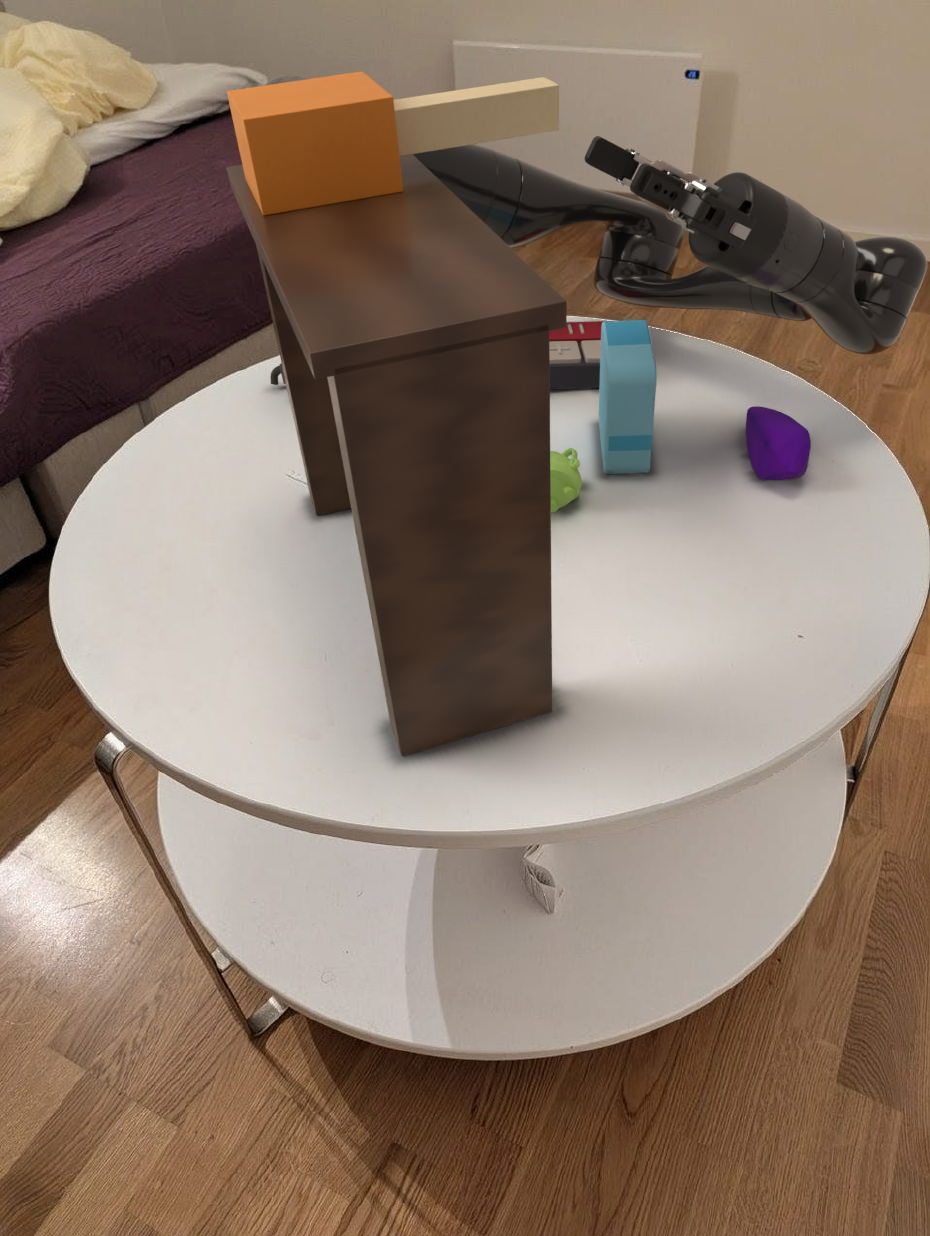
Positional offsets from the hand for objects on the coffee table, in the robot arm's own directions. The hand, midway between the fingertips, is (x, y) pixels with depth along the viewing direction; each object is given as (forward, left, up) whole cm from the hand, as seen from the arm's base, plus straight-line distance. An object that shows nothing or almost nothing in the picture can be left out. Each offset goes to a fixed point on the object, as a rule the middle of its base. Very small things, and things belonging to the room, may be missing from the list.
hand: (612, 162), depth 73 cm
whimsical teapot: (-3, -5, -30) cm, 31 cm away
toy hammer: (-12, -12, +2) cm, 17 cm away
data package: (0, +7, -30) cm, 31 cm away
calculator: (-13, +21, -30) cm, 39 cm away
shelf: (-9, -22, -30) cm, 38 cm away
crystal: (+14, +11, -30) cm, 35 cm away
